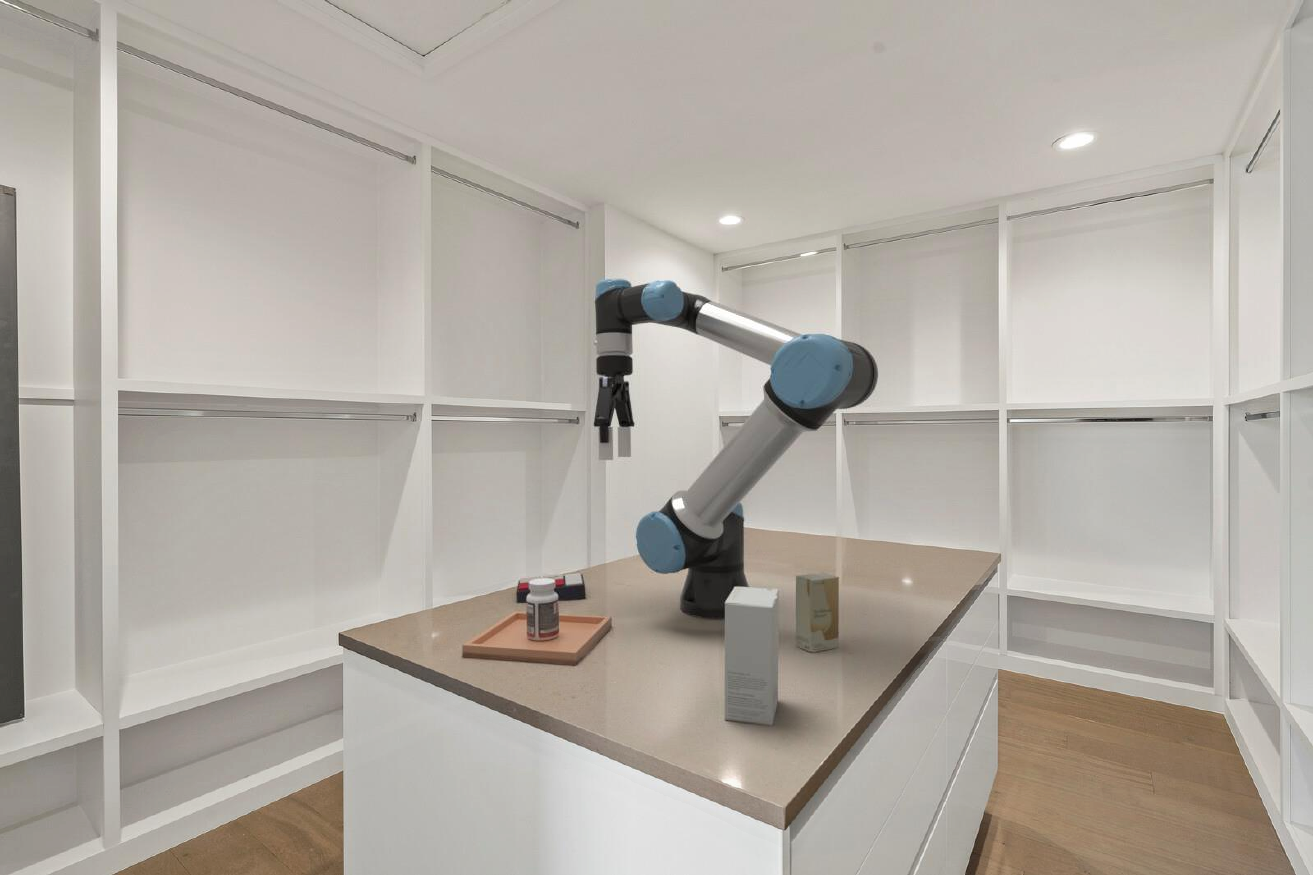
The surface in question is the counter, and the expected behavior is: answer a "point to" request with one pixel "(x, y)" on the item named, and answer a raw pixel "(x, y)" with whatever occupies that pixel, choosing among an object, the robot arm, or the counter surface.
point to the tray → (515, 645)
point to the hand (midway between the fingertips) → (615, 458)
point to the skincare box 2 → (817, 611)
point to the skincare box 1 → (751, 655)
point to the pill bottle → (542, 610)
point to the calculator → (565, 587)
